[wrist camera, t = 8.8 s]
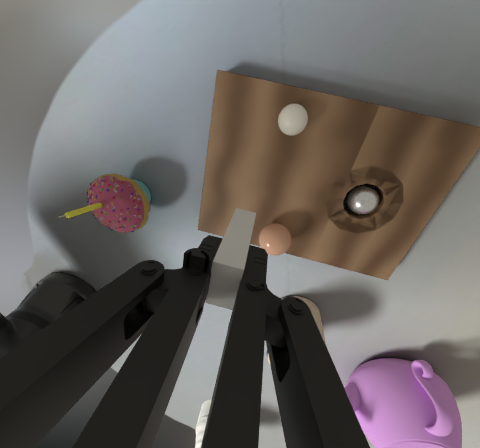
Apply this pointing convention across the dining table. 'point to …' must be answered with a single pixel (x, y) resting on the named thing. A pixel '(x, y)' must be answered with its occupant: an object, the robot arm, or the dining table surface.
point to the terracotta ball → (275, 239)
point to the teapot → (404, 405)
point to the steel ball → (363, 200)
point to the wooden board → (328, 171)
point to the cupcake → (117, 203)
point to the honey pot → (202, 423)
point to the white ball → (292, 119)
